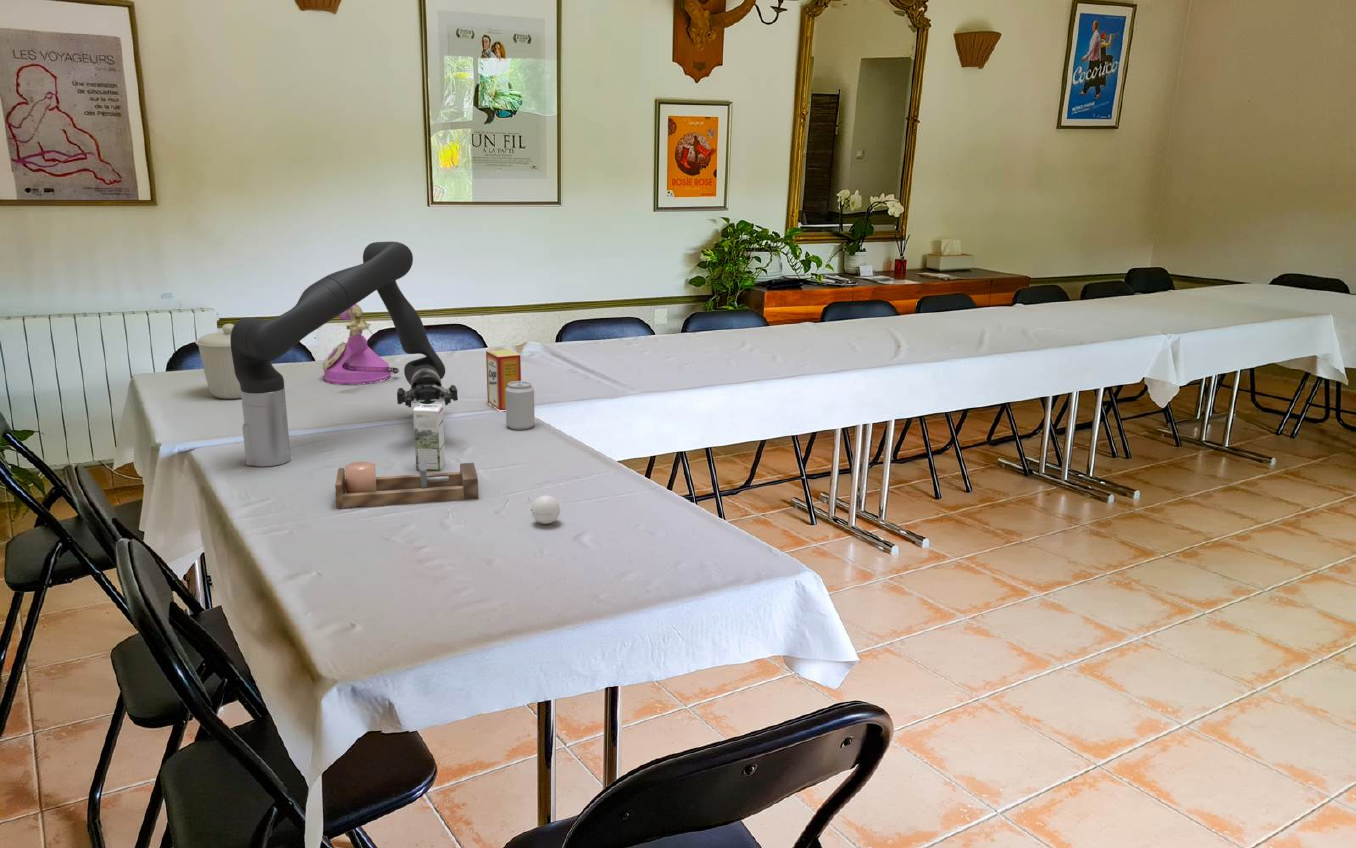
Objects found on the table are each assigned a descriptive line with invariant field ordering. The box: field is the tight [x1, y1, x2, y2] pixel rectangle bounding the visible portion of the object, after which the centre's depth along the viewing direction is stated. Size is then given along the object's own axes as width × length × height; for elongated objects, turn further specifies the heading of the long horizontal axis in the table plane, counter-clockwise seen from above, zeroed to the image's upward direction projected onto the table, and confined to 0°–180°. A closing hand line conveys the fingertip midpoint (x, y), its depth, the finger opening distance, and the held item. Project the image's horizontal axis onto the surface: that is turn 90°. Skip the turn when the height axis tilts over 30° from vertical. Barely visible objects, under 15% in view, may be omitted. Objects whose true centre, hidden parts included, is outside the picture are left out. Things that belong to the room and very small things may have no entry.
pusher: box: [419, 460, 449, 489], centre depth 206 cm, size 6×7×6 cm
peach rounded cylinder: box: [344, 461, 378, 494], centre depth 202 cm, size 6×6×7 cm
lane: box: [334, 462, 479, 509], centre depth 205 cm, size 28×11×5 cm, turn 106°
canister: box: [194, 323, 242, 400], centre depth 281 cm, size 18×18×21 cm
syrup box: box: [412, 403, 446, 471], centre depth 222 cm, size 6×6×14 cm
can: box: [505, 380, 536, 431], centre depth 256 cm, size 8×8×12 cm
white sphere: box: [530, 494, 561, 525], centre depth 190 cm, size 8×6×6 cm
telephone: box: [322, 303, 400, 385], centre depth 301 cm, size 36×22×25 cm, turn 25°
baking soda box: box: [485, 348, 522, 410], centre depth 276 cm, size 10×6×16 cm
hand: (428, 402), depth 231 cm, fingers open, 8 cm apart
